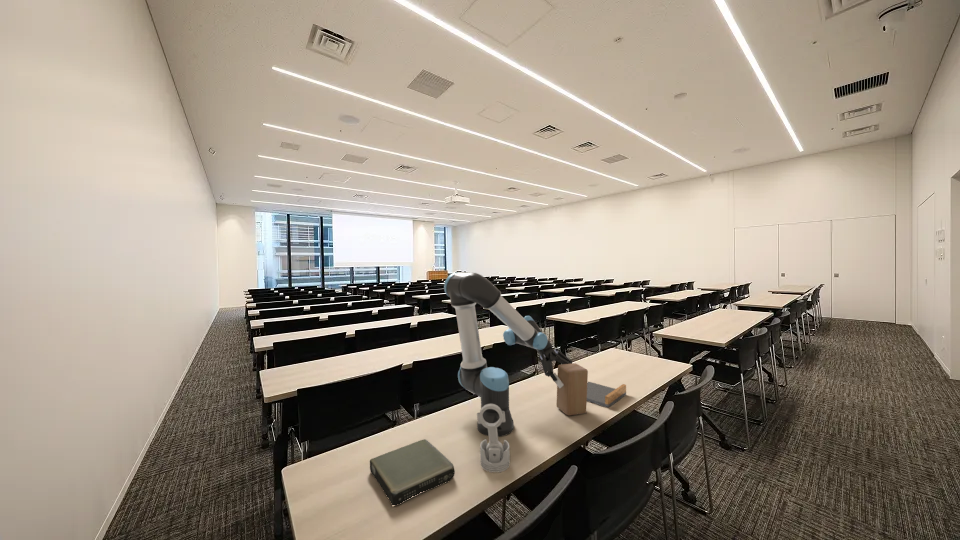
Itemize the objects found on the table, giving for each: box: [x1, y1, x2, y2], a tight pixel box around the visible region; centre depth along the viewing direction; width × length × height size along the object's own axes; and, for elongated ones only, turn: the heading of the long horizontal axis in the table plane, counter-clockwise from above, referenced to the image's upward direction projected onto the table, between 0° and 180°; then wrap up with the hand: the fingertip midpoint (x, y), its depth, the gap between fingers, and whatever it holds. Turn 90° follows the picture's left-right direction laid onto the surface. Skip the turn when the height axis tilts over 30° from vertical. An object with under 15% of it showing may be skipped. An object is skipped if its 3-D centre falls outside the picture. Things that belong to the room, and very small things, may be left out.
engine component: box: [476, 404, 511, 473], centre depth 115 cm, size 11×20×10 cm
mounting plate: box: [587, 381, 627, 409], centre depth 168 cm, size 20×20×5 cm
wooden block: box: [555, 362, 589, 416], centre depth 152 cm, size 10×10×20 cm
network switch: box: [369, 438, 456, 506], centre depth 110 cm, size 23×24×5 cm
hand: (569, 382), depth 153 cm, fingers open, 13 cm apart
